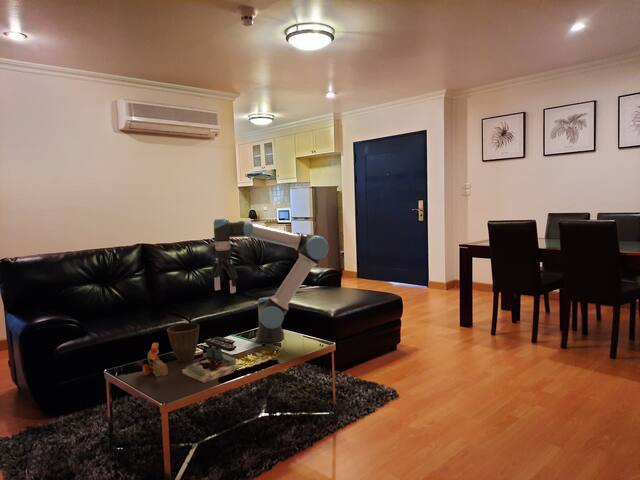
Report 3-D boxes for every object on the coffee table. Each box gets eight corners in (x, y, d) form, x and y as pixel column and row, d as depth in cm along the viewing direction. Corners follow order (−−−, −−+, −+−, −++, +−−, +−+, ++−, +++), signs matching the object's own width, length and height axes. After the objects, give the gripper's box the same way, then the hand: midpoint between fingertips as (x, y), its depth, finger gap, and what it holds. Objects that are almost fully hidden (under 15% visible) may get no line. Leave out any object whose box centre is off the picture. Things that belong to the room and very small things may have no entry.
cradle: (218, 360, 211) (218, 352, 211) (241, 369, 199) (240, 360, 198) (182, 372, 197) (181, 364, 197) (204, 382, 185) (203, 373, 185)
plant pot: (176, 367, 204) (174, 333, 203) (164, 359, 216) (162, 327, 215) (206, 359, 214) (204, 327, 213) (193, 352, 225) (191, 321, 224)
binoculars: (193, 349, 195) (210, 340, 203) (197, 371, 196) (213, 362, 205) (208, 351, 190) (224, 342, 198) (212, 374, 192) (227, 364, 200)
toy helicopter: (160, 368, 204) (158, 339, 203) (176, 381, 188) (174, 350, 187) (141, 373, 199) (139, 343, 198) (157, 387, 183) (155, 354, 182)
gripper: (202, 249, 228) (205, 290, 229) (231, 251, 211) (233, 295, 212) (215, 248, 233) (217, 287, 235) (243, 249, 216) (246, 292, 218)
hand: (225, 291), depth 223 cm, fingers open, 13 cm apart
